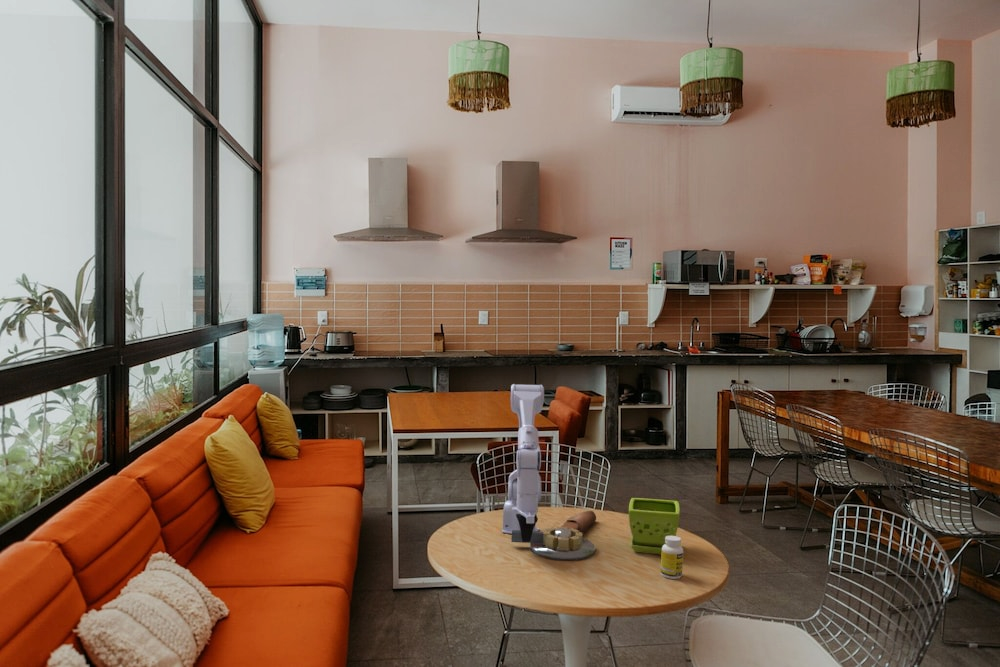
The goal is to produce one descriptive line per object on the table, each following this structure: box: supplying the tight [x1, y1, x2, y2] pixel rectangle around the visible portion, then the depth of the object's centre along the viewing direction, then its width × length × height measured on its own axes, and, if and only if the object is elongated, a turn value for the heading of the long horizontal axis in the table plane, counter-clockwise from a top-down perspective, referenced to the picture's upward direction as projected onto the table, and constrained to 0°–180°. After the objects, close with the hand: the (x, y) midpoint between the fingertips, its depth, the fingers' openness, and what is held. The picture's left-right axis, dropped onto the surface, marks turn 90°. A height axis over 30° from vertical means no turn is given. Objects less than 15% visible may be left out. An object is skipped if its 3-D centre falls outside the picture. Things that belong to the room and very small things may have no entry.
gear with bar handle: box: [510, 526, 584, 551], centre depth 203 cm, size 11×20×3 cm, turn 87°
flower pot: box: [628, 497, 681, 555], centre depth 205 cm, size 14×14×13 cm
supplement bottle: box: [660, 535, 684, 580], centre depth 186 cm, size 5×5×10 cm
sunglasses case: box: [560, 510, 597, 535], centre depth 222 cm, size 18×7×7 cm
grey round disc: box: [529, 528, 596, 562], centre depth 203 cm, size 18×18×5 cm
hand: (525, 541), depth 199 cm, fingers closed
